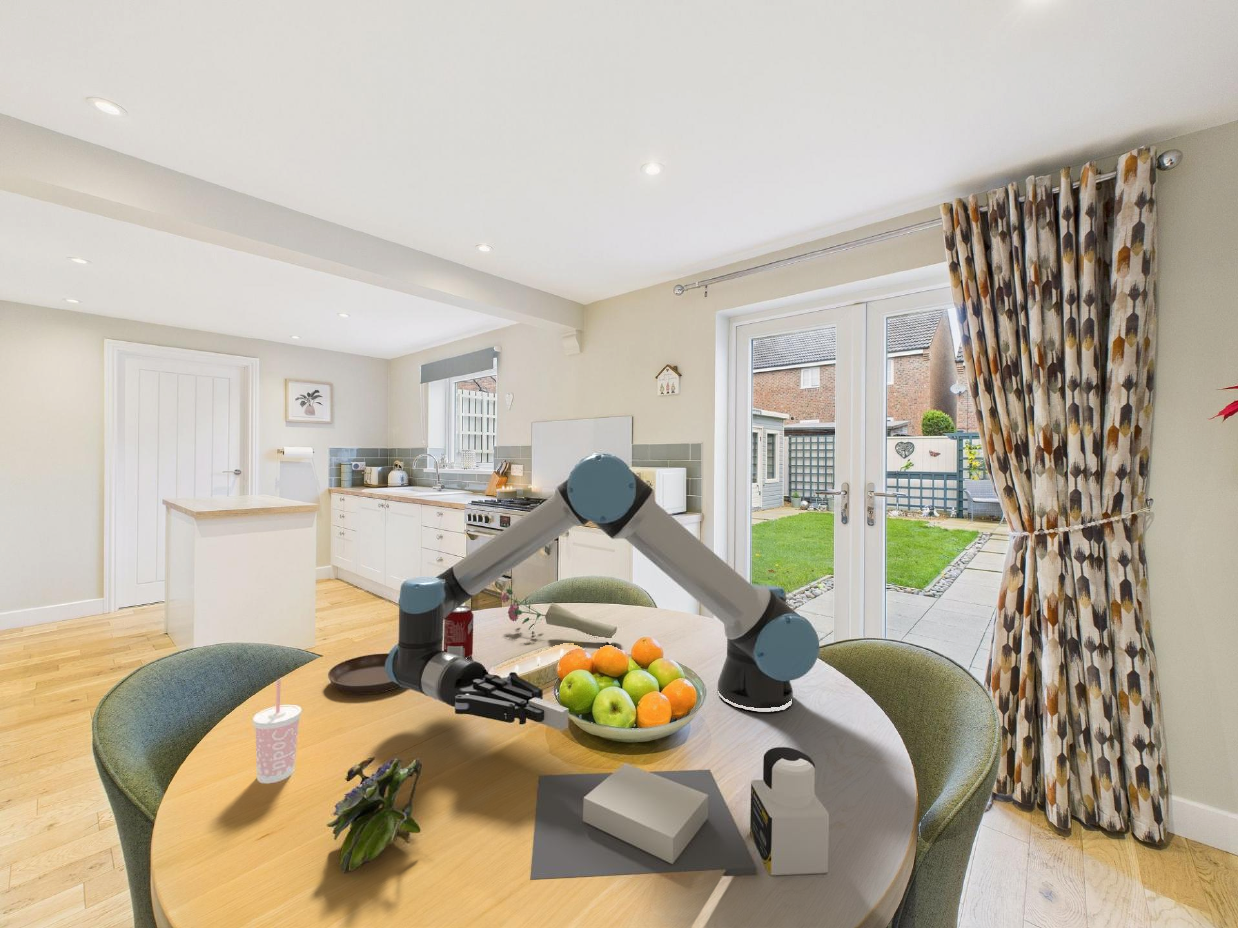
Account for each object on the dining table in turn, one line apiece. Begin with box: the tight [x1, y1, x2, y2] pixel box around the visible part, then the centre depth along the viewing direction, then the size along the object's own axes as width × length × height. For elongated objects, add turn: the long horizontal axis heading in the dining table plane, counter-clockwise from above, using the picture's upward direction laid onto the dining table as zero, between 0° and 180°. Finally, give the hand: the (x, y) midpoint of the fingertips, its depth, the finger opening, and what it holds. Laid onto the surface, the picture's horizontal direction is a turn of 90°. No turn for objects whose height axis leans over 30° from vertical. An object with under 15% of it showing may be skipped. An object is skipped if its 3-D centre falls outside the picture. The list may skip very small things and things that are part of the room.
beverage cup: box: [252, 678, 303, 784], centre depth 79 cm, size 6×6×14 cm
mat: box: [529, 769, 758, 881], centre depth 70 cm, size 26×20×1 cm
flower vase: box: [501, 584, 618, 638], centre depth 146 cm, size 12×12×35 cm
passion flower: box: [326, 755, 423, 873], centre depth 66 cm, size 11×11×12 cm
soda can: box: [443, 604, 474, 659], centre depth 128 cm, size 7×7×12 cm
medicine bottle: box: [749, 746, 830, 876], centre depth 65 cm, size 7×7×12 cm
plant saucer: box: [327, 652, 401, 695], centre depth 114 cm, size 18×18×3 cm
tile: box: [583, 762, 708, 864], centre depth 69 cm, size 3×10×13 cm
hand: (565, 719), depth 77 cm, fingers closed
